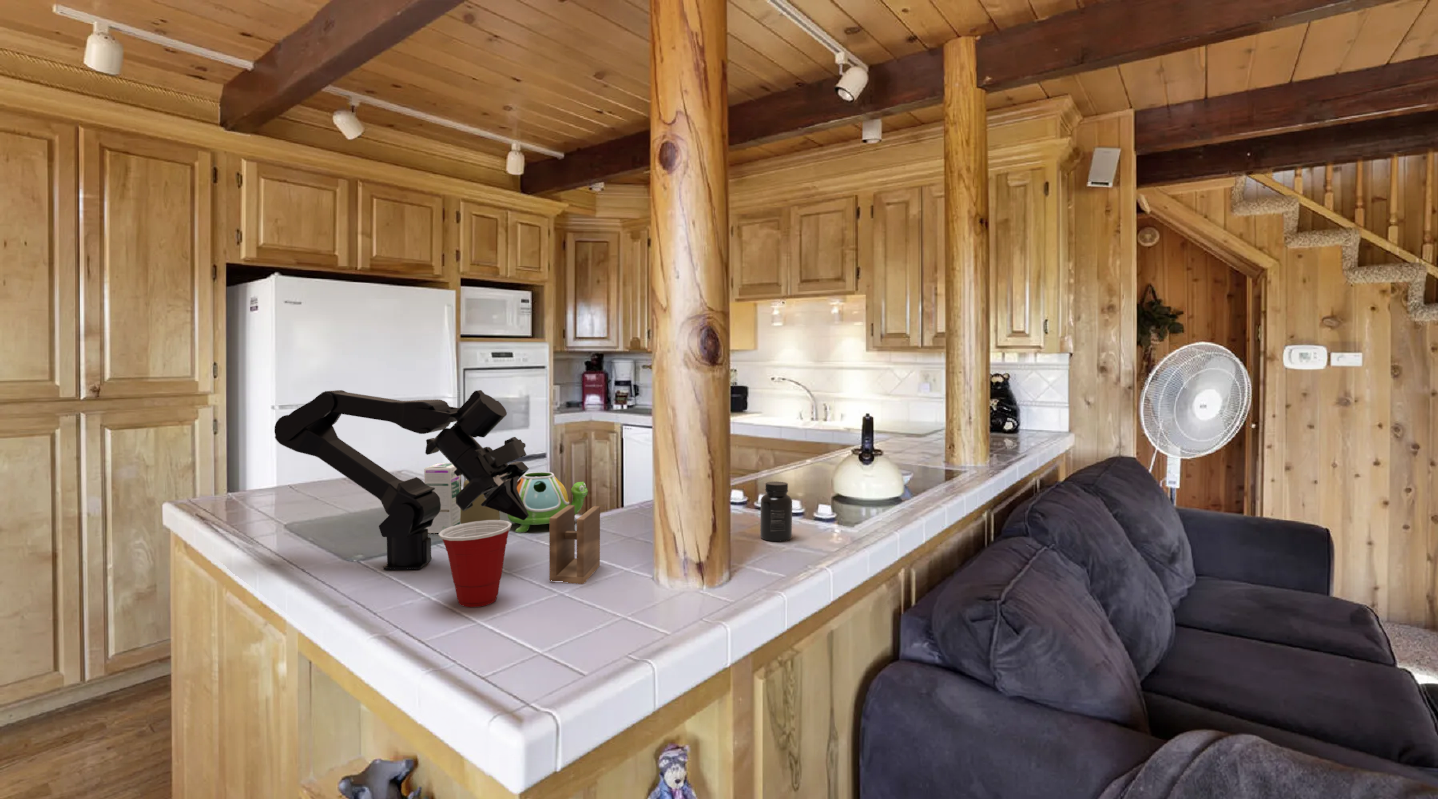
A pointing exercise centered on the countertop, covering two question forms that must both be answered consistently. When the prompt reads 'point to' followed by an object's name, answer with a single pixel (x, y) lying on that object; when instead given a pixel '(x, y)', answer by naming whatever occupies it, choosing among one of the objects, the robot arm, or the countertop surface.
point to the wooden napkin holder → (563, 545)
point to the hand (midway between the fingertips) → (526, 518)
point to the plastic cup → (476, 559)
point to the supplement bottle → (776, 513)
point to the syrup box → (444, 495)
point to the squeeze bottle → (478, 511)
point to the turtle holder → (545, 498)
